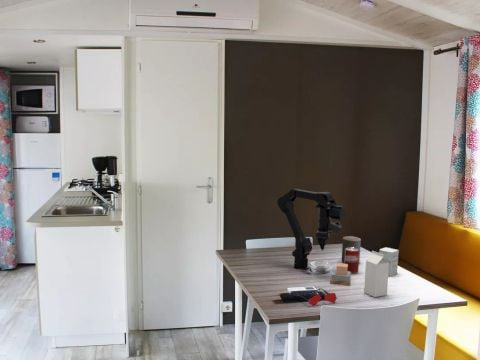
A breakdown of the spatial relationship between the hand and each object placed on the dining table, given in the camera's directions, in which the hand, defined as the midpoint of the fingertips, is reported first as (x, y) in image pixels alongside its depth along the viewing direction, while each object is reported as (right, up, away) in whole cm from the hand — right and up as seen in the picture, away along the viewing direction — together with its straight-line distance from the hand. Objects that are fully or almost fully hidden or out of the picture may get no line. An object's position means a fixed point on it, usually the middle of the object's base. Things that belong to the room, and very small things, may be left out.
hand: (323, 247), depth 252 cm
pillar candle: (+18, -11, +20) cm, 30 cm away
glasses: (-10, -18, -35) cm, 41 cm away
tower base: (+6, -15, -12) cm, 21 cm away
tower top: (+6, -13, -12) cm, 19 cm away
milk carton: (+19, -17, -28) cm, 38 cm away
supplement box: (+33, -14, +2) cm, 36 cm away
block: (+7, -10, -13) cm, 18 cm away
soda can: (+15, -13, +4) cm, 20 cm away
